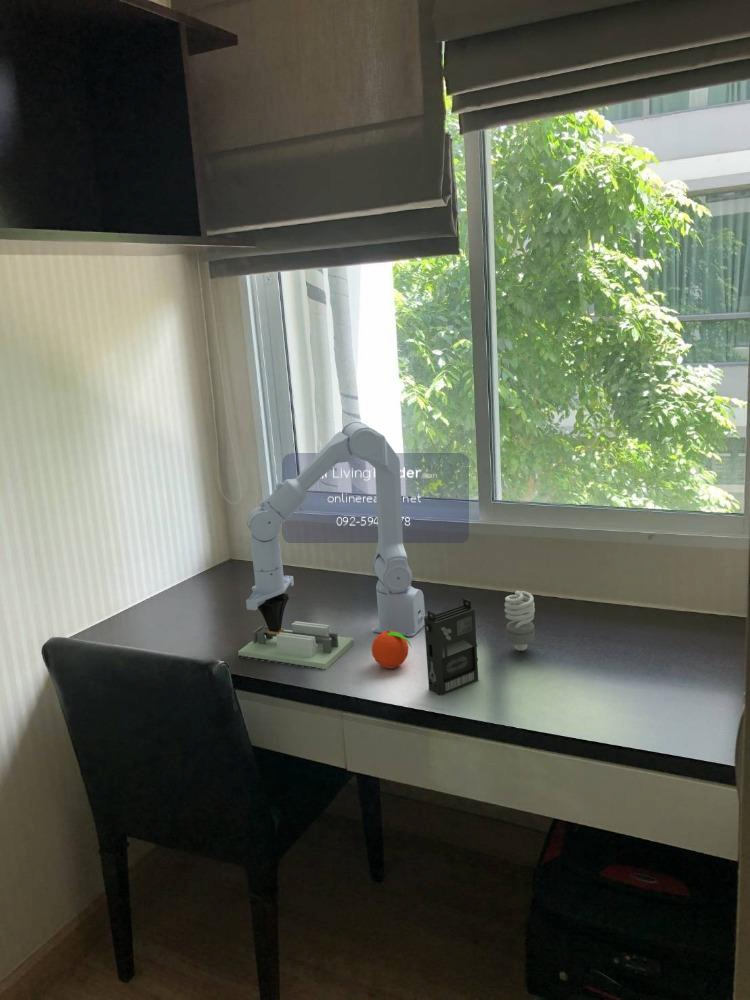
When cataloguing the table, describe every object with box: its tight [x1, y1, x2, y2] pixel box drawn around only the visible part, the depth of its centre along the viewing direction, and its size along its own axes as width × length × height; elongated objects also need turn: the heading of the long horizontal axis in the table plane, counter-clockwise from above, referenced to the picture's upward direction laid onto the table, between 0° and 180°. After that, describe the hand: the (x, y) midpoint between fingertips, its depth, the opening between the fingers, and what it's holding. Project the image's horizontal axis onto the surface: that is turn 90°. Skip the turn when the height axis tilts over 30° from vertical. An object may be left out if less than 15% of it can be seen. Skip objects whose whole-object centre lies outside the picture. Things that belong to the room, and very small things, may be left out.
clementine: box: [371, 631, 413, 669], centre depth 151 cm, size 8×7×7 cm
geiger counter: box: [424, 597, 479, 696], centre depth 142 cm, size 10×4×15 cm, turn 123°
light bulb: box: [504, 590, 536, 652], centre depth 153 cm, size 6×6×12 cm
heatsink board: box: [237, 620, 355, 670], centre depth 162 cm, size 20×12×5 cm, turn 64°
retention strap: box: [260, 627, 334, 643], centre depth 161 cm, size 16×2×1 cm, turn 64°
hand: (275, 630), depth 163 cm, fingers closed, pressing on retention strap
